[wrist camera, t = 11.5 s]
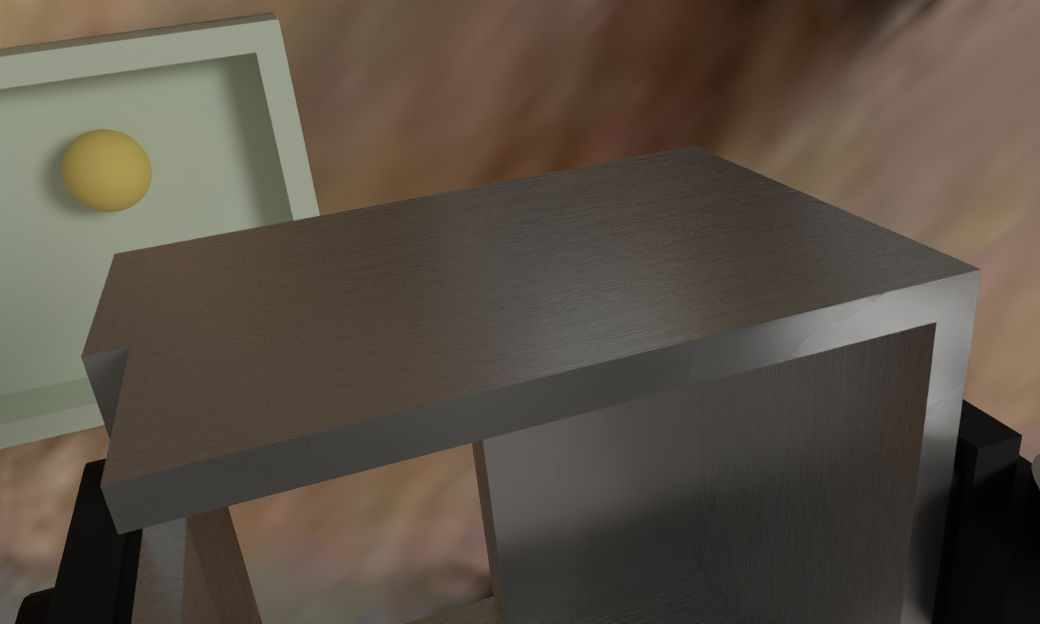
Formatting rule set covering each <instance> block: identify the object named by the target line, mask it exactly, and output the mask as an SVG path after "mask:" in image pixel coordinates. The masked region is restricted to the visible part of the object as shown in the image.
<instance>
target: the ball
mask: <svg viewBox="0 0 1040 624" xmlns="http://www.w3.org/2000/svg"><path fill="white" fill-rule="evenodd" d="M61 171H62V177H63V180H64V183H65V185H66V187H67V189H68V190H69V192H70V193H71V194H72V195H73V197H74V198H75V199H77V200H78V201H79V202H80V203H82V204H83V205H85V206H87V207H89V208H91V209H94V210H98V211H103V212H117V211H122V210H125V209H128V208H130V207H132V206H134V205H135V204H137V203H138V202H139V201H140V200H141V199H142V198H143V197H144V196H145V194H146V193H147V191H148V189H149V187H150V184H151V179H152V168H151V163H150V160H149V157H148V155H147V154H146V152H145V150H144V149H143V148H142V146H141V145H140V144H139V143H138V142H137V141H135V140H134V139H133V138H131V137H130V136H128V135H126V134H124V133H122V132H119V131H115V130H109V129H98V130H93V131H89V132H86V133H84V134H82V135H80V136H79V137H77V138H76V139H75V140H73V141H72V142H71V144H70V145H69V146H68V148H67V149H66V151H65V153H64V156H63V159H62V169H61Z"/></svg>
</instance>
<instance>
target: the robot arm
mask: <svg viewBox="0 0 1040 624" xmlns="http://www.w3.org/2000/svg"><path fill="white" fill-rule="evenodd" d="M1021 439H1022V435H1021V434H1019V433H1017V432H1016V431H1014V430H1012V429H1011V428H1009V427H1008V426H1006V425H1004V424H1003V423H1001V422H999V421H998V420H996V419H995V418H993V417H991V416H990V415H988V414H986V413H985V412H983V411H982V410H980V409H978V408H977V407H975V406H973V405H972V404H970V403H969V402H967V401H965V400H964V399H963V402H962V409H961V416H960V423H959V430H958V437H957V444H956V452H955V459H954V466H953V473H952V480H951V487H950V494H949V501H948V509H947V516H946V523H945V530H944V537H943V544H942V551H941V558H940V566H939V573H938V580H937V587H936V594H935V601H934V608H933V615H932V623H931V624H1040V454H1038V455H1037V456H1036V457H1035V459H1034V461H1033V463H1031V462H1029V461H1028V460H1026V459H1025V458H1023V457H1022V456H1020V455H1019V450H1020V445H1021ZM105 461H106V459H102V460H97V461H93V462H89V463H86V465H85V468H84V471H83V475H82V479H81V483H80V487H79V491H78V495H77V499H76V503H75V507H74V511H73V515H72V519H71V523H70V527H69V531H68V535H67V539H66V543H65V547H64V551H63V555H62V559H61V563H60V567H59V571H58V575H57V579H56V583H55V587H54V588H50V589H46V590H42V591H39V592H35V593H31V594H29V595H28V596H27V597H25V598H24V600H23V602H22V604H21V606H20V608H19V612H18V615H17V618H16V622H15V624H131V622H132V614H133V606H134V597H135V589H136V581H137V573H138V565H139V557H140V549H141V541H142V533H143V532H142V529H138V530H134V531H130V532H127V533H123V534H119V535H118V533H117V530H116V527H115V525H114V522H113V519H112V516H111V514H110V511H109V508H108V506H107V503H106V500H105V497H104V495H103V492H102V489H101V486H100V485H101V480H102V475H103V471H104V466H105Z"/></svg>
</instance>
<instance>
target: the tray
mask: <svg viewBox="0 0 1040 624" xmlns="http://www.w3.org/2000/svg"><path fill="white" fill-rule="evenodd" d="M98 129H109V130H115V131H119V132H122V133H124V134H126V135H128V136H130V137H131V138H133V139H134V140H135V141H137V142H138V143H139V144H140V145H141V146H142V148H143V149H144V150H145V152H146V154H147V155H148V157H149V160H150V163H151V168H152V179H151V184H150V187H149V189H148V191H147V193H146V194H145V196H144V197H143V198H142V199H141V200H140V201H139V202H138V203H137V204H135V205H134V206H132V207H130V208H128V209H125V210H122V211H117V212H103V211H98V210H94V209H91V208H89V207H87V206H85V205H83V204H82V203H80V202H79V201H78V200H77V199H75V198H74V197H73V195H72V194H71V193H70V192H69V190H68V189H67V187H66V185H65V183H64V180H63V177H62V171H61V169H62V159H63V156H64V153H65V151H66V149H67V148H68V146H69V145H70V144H71V142H72V141H73V140H75V139H76V138H77V137H79V136H80V135H82V134H84V133H86V132H89V131H93V130H98ZM315 216H320V215H319V210H318V205H317V200H316V196H315V191H314V186H313V181H312V177H311V172H310V167H309V162H308V157H307V153H306V148H305V143H304V138H303V134H302V129H301V124H300V119H299V115H298V110H297V105H296V100H295V95H294V91H293V86H292V81H291V76H290V72H289V67H288V62H287V57H286V52H285V48H284V43H283V38H282V33H281V29H280V24H279V19H278V18H277V17H276V16H275V14H274V13H267V14H259V15H252V16H244V17H237V18H229V19H222V20H214V21H206V22H199V23H191V24H184V25H176V26H169V27H161V28H154V29H146V30H139V31H131V32H124V33H116V34H109V35H101V36H94V37H86V38H78V39H71V40H63V41H56V42H48V43H41V44H33V45H26V46H18V47H11V48H3V49H0V449H4V448H8V447H12V446H16V445H21V444H25V443H29V442H33V441H38V440H42V439H46V438H51V437H55V436H59V435H63V434H68V433H72V432H76V431H80V430H85V429H89V428H93V427H97V426H102V425H105V424H104V421H103V418H102V415H101V412H100V410H99V407H98V404H97V401H96V398H95V395H94V393H93V390H92V387H91V384H90V381H89V378H88V376H87V373H86V370H85V367H84V364H83V361H82V359H81V355H82V352H83V349H84V346H85V343H86V340H87V337H88V334H89V331H90V328H91V325H92V321H93V318H94V315H95V312H96V309H97V306H98V303H99V300H100V297H101V294H102V291H103V288H104V285H105V282H106V278H107V275H108V272H109V269H110V266H111V263H112V260H113V257H114V254H116V253H122V252H127V251H132V250H138V249H143V248H149V247H154V246H159V245H165V244H170V243H175V242H181V241H186V240H192V239H197V238H202V237H208V236H213V235H218V234H224V233H229V232H235V231H240V230H245V229H251V228H256V227H262V226H267V225H272V224H278V223H283V222H288V221H294V220H299V219H305V218H310V217H315Z"/></svg>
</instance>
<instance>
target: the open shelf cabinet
mask: <svg viewBox="0 0 1040 624" xmlns="http://www.w3.org/2000/svg"><path fill="white" fill-rule="evenodd" d="M980 274H981V269H979V268H977V267H975V266H972V265H970V264H968V263H965V262H963V261H961V260H958V259H956V258H954V257H951V256H949V255H947V254H944V253H942V252H940V251H937V250H935V249H933V248H931V247H928V246H926V245H924V244H921V243H919V242H917V241H914V240H912V239H910V238H907V237H905V236H903V235H900V234H898V233H896V232H893V231H891V230H889V229H886V228H884V227H882V226H879V225H877V224H875V223H872V222H870V221H868V220H866V219H863V218H861V217H859V216H856V215H854V214H852V213H849V212H847V211H845V210H842V209H840V208H838V207H835V206H833V205H831V204H828V203H826V202H824V201H821V200H819V199H817V198H814V197H812V196H810V195H808V194H805V193H803V192H801V191H798V190H796V189H794V188H791V187H789V186H787V185H784V184H782V183H780V182H777V181H775V180H773V179H770V178H768V177H766V176H763V175H761V174H759V173H756V172H754V171H752V170H749V169H747V168H745V167H743V166H740V165H738V164H736V163H733V162H731V161H729V160H726V159H724V158H722V157H719V156H717V155H715V154H712V153H710V152H708V151H705V150H703V149H701V148H698V147H696V146H692V147H687V148H681V149H676V150H671V151H665V152H660V153H654V154H649V155H644V156H638V157H633V158H628V159H622V160H617V161H611V162H606V163H601V164H595V165H590V166H584V167H579V168H574V169H568V170H563V171H558V172H552V173H547V174H541V175H536V176H531V177H525V178H520V179H515V180H509V181H504V182H498V183H493V184H488V185H482V186H477V187H471V188H466V189H461V190H455V191H450V192H445V193H439V194H434V195H428V196H423V197H418V198H412V199H407V200H401V201H396V202H391V203H385V204H380V205H375V206H369V207H364V208H358V209H353V210H348V211H342V212H337V213H332V214H326V215H321V216H315V217H310V218H305V219H299V220H294V221H288V222H283V223H278V224H272V225H267V226H262V227H256V228H251V229H245V230H240V231H235V232H229V233H224V234H218V235H213V236H208V237H202V238H197V239H192V240H186V241H181V242H175V243H170V244H165V245H159V246H154V247H149V248H143V249H138V250H132V251H127V252H122V253H116V254H114V257H113V260H112V263H111V266H110V269H109V272H108V275H107V278H106V282H105V285H104V288H103V291H102V294H101V297H100V300H99V303H98V306H97V309H96V312H95V315H94V318H93V321H92V325H91V328H90V331H89V334H88V337H87V340H86V343H85V346H84V349H83V352H82V355H81V359H82V361H83V364H84V367H85V370H86V373H87V376H88V378H89V381H90V384H91V387H92V390H93V393H94V395H95V398H96V401H97V404H98V407H99V410H100V412H101V415H102V418H103V421H104V424H105V427H106V429H107V432H108V435H109V438H110V443H109V447H108V452H107V457H106V461H105V466H104V471H103V475H102V480H101V485H100V486H101V489H102V492H103V495H104V497H105V500H106V503H107V506H108V508H109V511H110V514H111V516H112V519H113V522H114V525H115V527H116V530H117V533H118V535H119V534H123V533H127V532H130V531H134V530H138V529H142V532H143V533H142V541H141V549H140V557H139V565H138V573H137V581H136V589H135V597H134V606H133V614H132V622H131V624H262V620H261V617H260V614H259V610H258V607H257V603H256V600H255V597H254V593H253V590H252V586H251V583H250V580H249V576H248V573H247V570H246V566H245V563H244V559H243V556H242V553H241V549H240V546H239V543H238V539H237V536H236V532H235V529H234V526H233V522H232V519H231V515H230V512H229V509H228V506H230V505H234V504H238V503H242V502H246V501H250V500H253V499H257V498H261V497H265V496H269V495H273V494H277V493H280V492H284V491H288V490H292V489H296V488H300V487H304V486H307V485H311V484H315V483H319V482H323V481H327V480H330V479H334V478H338V477H342V476H346V475H350V474H354V473H357V472H361V471H365V470H369V469H373V468H377V467H380V466H384V465H388V464H392V463H396V462H400V461H404V460H407V459H411V458H415V457H419V456H423V455H427V454H430V453H434V452H438V451H442V450H446V449H450V448H454V447H457V446H461V445H465V444H469V443H472V447H473V454H474V461H475V468H476V475H477V483H478V490H479V497H480V504H481V511H482V518H483V525H484V532H485V539H486V546H487V553H488V560H489V567H490V574H491V581H492V588H493V595H494V596H493V597H490V598H487V599H483V600H480V601H477V602H474V603H470V604H467V605H464V606H461V607H457V608H454V609H451V610H448V611H444V612H441V613H438V614H435V615H431V616H428V617H425V618H421V619H418V620H415V621H412V622H408V623H405V624H931V623H932V615H933V608H934V601H935V594H936V587H937V580H938V573H939V566H940V558H941V551H942V544H943V537H944V530H945V523H946V516H947V509H948V501H949V494H950V487H951V480H952V473H953V466H954V459H955V452H956V444H957V437H958V430H959V423H960V416H961V409H962V402H963V395H964V388H965V380H966V373H967V366H968V359H969V352H970V345H971V338H972V331H973V323H974V316H975V309H976V302H977V295H978V288H979V281H980Z"/></svg>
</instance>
